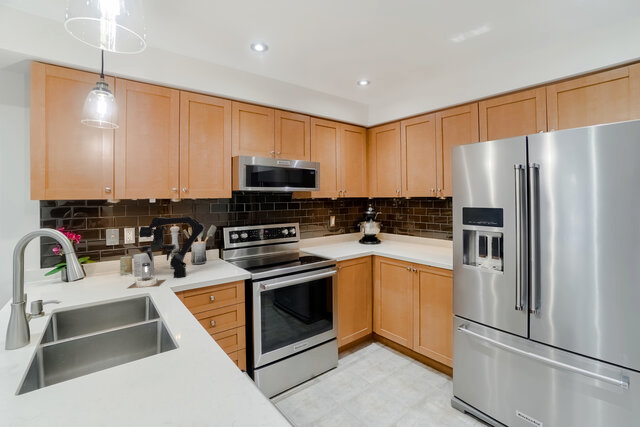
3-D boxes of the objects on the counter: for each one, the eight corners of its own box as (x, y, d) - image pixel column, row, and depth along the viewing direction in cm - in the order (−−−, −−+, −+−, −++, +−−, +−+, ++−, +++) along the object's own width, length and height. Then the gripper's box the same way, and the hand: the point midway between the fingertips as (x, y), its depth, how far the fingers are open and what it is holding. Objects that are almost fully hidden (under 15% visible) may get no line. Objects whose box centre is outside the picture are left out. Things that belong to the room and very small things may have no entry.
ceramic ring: (159, 280, 181) (159, 276, 180) (153, 285, 170) (153, 280, 170) (140, 282, 178) (140, 277, 178) (132, 287, 168) (132, 282, 167)
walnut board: (166, 280, 184) (166, 279, 184) (158, 287, 169) (158, 286, 169) (136, 282, 180) (136, 281, 180) (126, 289, 165) (126, 288, 165)
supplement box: (147, 273, 204) (146, 252, 203) (154, 275, 199) (154, 253, 199) (133, 276, 196) (132, 254, 195) (141, 278, 191) (140, 255, 191)
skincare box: (120, 275, 199) (119, 257, 199) (122, 274, 204) (121, 256, 203) (130, 274, 201) (130, 257, 201) (132, 273, 205) (132, 256, 205)
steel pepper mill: (152, 282, 177) (151, 262, 176) (149, 284, 172) (148, 263, 172) (144, 283, 176) (143, 262, 175) (141, 285, 171) (140, 264, 171)
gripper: (137, 239, 176) (138, 264, 177) (170, 237, 180) (171, 262, 181) (144, 236, 187) (145, 261, 187) (175, 235, 191) (176, 259, 191)
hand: (159, 261), depth 186 cm, fingers open, 9 cm apart
